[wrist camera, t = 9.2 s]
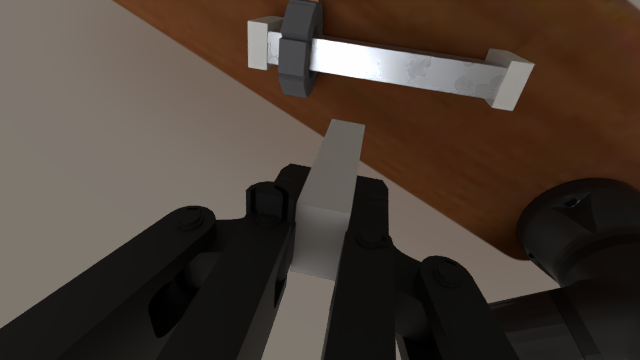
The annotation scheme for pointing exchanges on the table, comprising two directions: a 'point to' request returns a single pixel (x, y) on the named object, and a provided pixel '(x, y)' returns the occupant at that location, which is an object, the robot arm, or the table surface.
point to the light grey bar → (399, 65)
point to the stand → (515, 65)
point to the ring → (298, 46)
